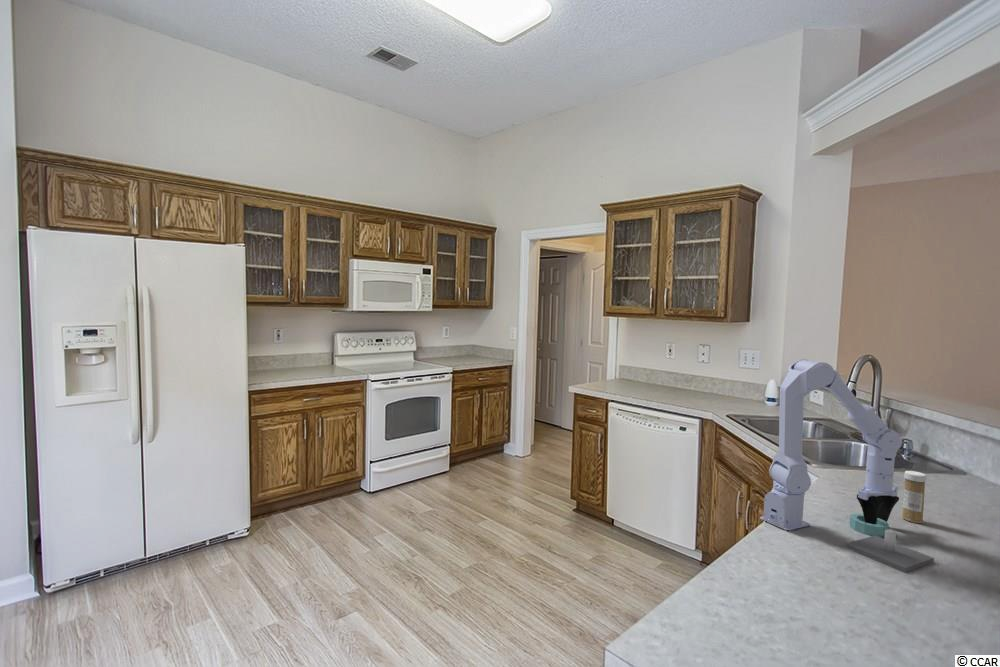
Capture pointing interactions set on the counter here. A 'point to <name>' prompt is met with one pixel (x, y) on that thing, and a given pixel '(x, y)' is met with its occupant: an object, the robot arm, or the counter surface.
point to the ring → (868, 525)
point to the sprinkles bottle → (914, 496)
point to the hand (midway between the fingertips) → (876, 522)
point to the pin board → (890, 552)
